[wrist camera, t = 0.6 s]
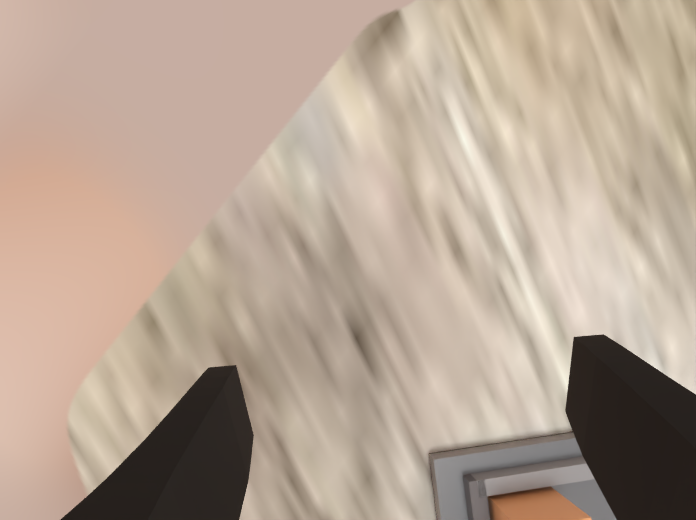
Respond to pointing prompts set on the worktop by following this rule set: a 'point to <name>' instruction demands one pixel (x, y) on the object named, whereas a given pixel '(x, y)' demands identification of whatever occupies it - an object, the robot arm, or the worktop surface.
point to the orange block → (534, 506)
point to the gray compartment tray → (513, 476)
